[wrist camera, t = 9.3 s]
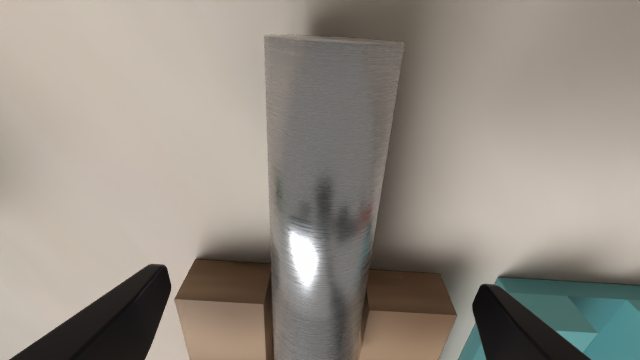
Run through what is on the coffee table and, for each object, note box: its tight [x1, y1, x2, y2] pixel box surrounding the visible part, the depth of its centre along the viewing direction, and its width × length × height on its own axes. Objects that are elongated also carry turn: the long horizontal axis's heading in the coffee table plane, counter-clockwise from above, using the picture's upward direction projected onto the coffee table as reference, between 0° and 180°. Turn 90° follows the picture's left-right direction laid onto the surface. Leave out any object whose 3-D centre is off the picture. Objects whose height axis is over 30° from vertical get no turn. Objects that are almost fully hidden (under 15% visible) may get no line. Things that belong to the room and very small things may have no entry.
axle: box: [264, 35, 405, 360], centre depth 12 cm, size 14×4×4 cm, turn 177°
